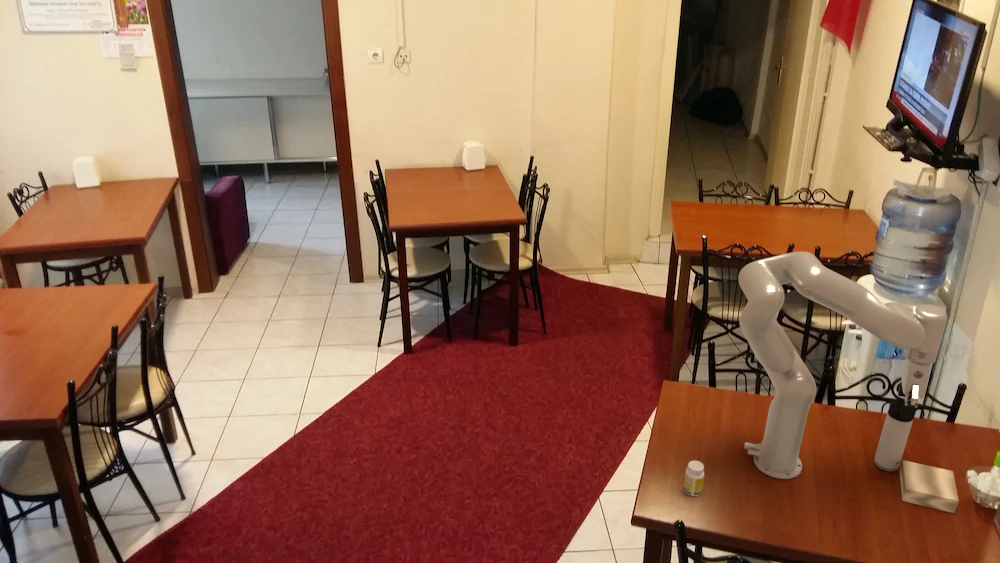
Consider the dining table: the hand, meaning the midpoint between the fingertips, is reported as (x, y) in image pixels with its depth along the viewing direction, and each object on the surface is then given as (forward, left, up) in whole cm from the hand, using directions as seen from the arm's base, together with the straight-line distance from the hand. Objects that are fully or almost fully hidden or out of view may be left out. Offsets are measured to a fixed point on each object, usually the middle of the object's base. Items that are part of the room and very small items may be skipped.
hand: (905, 406), depth 201 cm
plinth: (+9, -8, -19) cm, 23 cm away
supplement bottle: (-48, -30, -20) cm, 60 cm away
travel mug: (0, 0, -20) cm, 20 cm away
